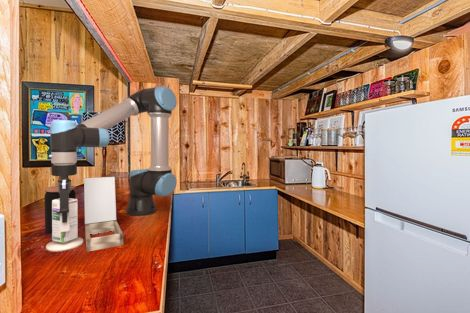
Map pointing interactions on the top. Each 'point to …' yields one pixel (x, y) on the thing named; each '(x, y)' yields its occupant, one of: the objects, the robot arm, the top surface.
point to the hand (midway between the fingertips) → (65, 227)
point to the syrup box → (72, 219)
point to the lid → (99, 199)
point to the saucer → (64, 245)
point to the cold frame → (104, 240)
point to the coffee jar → (49, 196)
